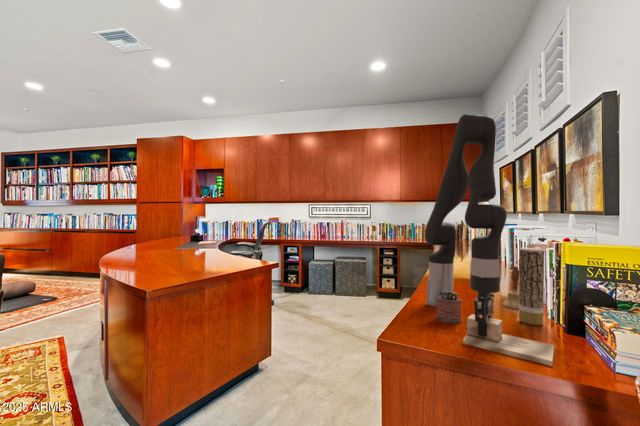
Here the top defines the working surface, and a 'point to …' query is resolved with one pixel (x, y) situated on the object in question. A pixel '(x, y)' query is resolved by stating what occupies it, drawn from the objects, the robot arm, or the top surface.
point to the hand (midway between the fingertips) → (484, 332)
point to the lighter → (448, 307)
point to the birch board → (516, 348)
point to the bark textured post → (531, 286)
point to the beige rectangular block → (492, 329)
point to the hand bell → (513, 291)
